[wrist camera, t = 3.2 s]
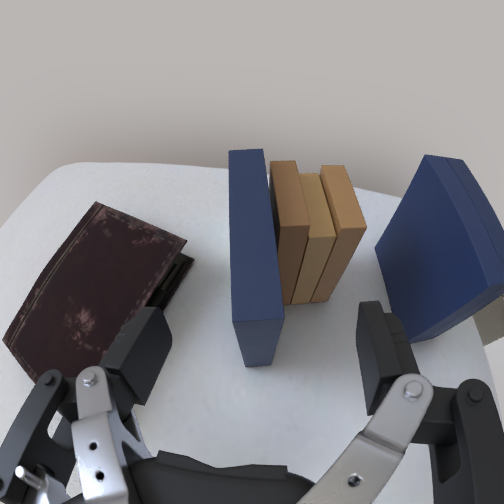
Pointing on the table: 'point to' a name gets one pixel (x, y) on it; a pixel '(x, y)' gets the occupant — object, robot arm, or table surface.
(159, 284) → the diary
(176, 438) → the table surface
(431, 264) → the navy book pair
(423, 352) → the table surface
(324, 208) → the tan books
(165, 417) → the table surface
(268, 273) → the navy book
